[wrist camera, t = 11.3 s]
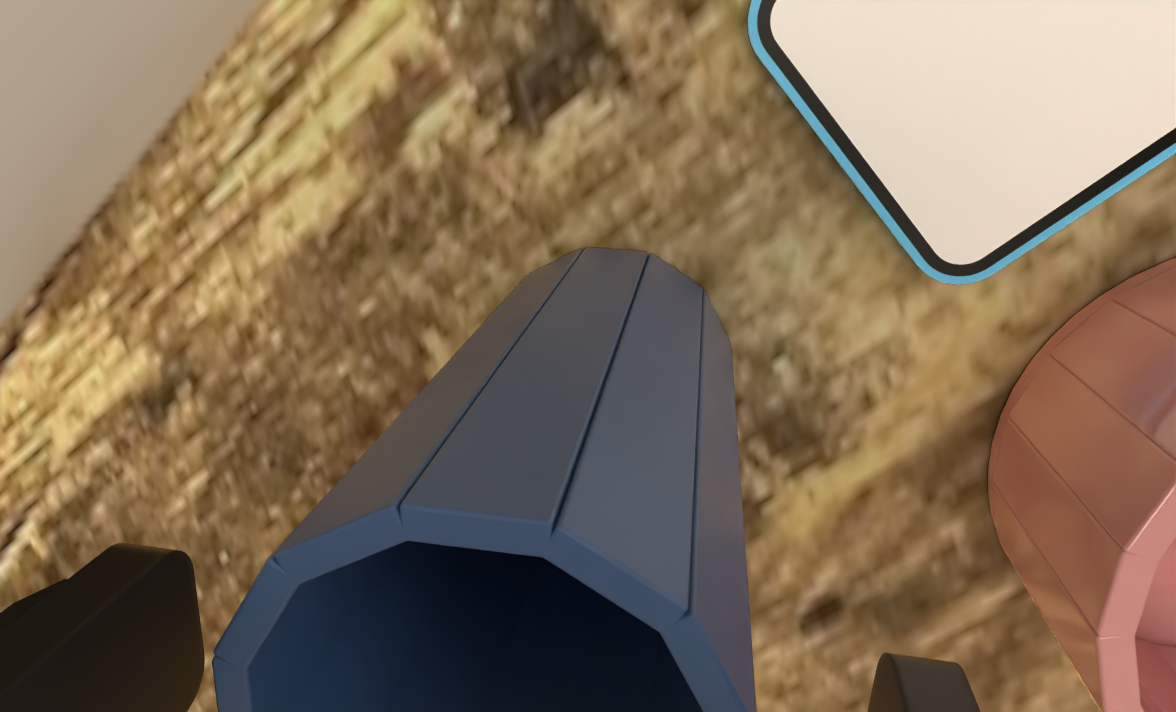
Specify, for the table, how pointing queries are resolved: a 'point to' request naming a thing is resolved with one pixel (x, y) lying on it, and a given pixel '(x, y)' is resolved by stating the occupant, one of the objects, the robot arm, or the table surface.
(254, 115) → the table surface
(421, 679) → the blue cup
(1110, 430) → the pink cup
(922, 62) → the smartphone
